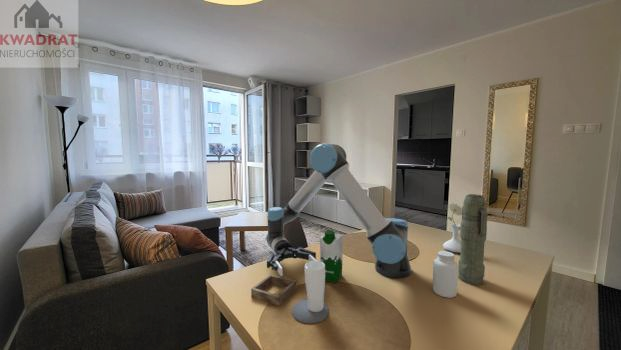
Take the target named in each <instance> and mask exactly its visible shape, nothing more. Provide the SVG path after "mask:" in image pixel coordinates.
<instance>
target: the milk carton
mask: <svg viewBox="0 0 621 350" xmlns="http://www.w3.org/2000/svg"><path fill="white" fill-rule="evenodd" d="M343 239H344V234H341V233H335V231H334V230H333V231H332V230H326V231H325V232H324V233H323V234H322V235H321V236H319V250H320V251H319V259H320V260H319V261H321V262H323V263H324V264H325V282H331V283H333V284H334V283H335V284H337V283H338V281H339V280H340V279H341V277H342V276H343V245H344V244H343Z"/></svg>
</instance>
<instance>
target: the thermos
mask: <svg viewBox="0 0 621 350" xmlns="http://www.w3.org/2000/svg"><path fill="white" fill-rule="evenodd" d="M462 203H463V204H462V205H463V206H462V207H461V208H462V215H461V222H460V225H461V227H460V228H459V236H460V240H461V253H460V256H459V257H460V258H459V260H458V263H457V265H458V274H457V279H459V280H460V281H462V282H463V283H465V284H468V285H472V286H482V285H483V284H484V278H485V268H486V267H485V263H484V260H485V259H484V258H485V257H484V255H485V242H486V240H487V235H488V234H487V231H488V227H487V225H488V224H487V223H488V214H489V213H488V211H487V201H486V199H485V196H483V195H481V194H473V193H472V194H471V193H469V194H467V195H466V196H465V198H464V200H463V202H462Z"/></svg>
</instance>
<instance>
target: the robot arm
mask: <svg viewBox="0 0 621 350" xmlns="http://www.w3.org/2000/svg"><path fill="white" fill-rule="evenodd" d="M309 162H310V166H311V167H312V169H313V170H314V171H313V173H312V174H310V176H309V177H308V179H306V181H305V182H304V184H302V186H301V187H300V188H299V190H298V191H296V193H295V194H294V196H293V197H292V198H291V199H290V200H289V201H288V203H287V204H286V205H285V206H284V208H282V207H278V206H274V207H270V208H268V210H267V217H266V219H267V234H266V237H265V240H266V243H267V245H268V246H269V247H270V249H271V250H272V251H269V256H268V258H267V260H266V268H267V269H270V268H271V270H273V271H277V273H278V274H279V277H282V276H283V275H284V273H283V267H282V266H281V264H280V263H281V262H283V261H284V260H287V259H295V260H296V259H301V260H307V261H308V262H309V261H318V260H317V252H316V251H312V250H310V249H306V248H304V247H302V246H298V248H294V247H293V245H292V244H291V243H290V242H289V241H288V240H287V239H286V238H285V225H286V224H288V223H290V222H292V221H295V220H296V219H297V218H298V217H299V216H300V212H301V211H302V210H303V209H304V208H305V207H306V205H307V204H308V203H309V202H310V201H311V200H312V199H313V198H314V196H315V195H316V194H317V193H318V192H319V191H320V189H321V188H322V187H323V186H324V185H325V183H326V182H331V183H332V184H333V186H334V187H335V189H336V190H337V191H338V193H339V194H340V196H341V197H342V198H343V200H344V201H345V202H346V204H347V205H348V207H349V208H350V210H351V211H352V212H353V214H354V215H355V217H356V218H357V220H358V221H359V222H360V223H361V225H362V227H363V228H364V230H366V231H365V232H366V235H365V238H367V240H368V242H369V243H370V245H371V249H372V253H373V255H374V256H375V258H376V260H375V262H374V268H375V270H376V272H377V273H379V274H380V275H382V276H384V277H388V278H392V279H393V278H394V279H401V278H402V279H403V278H408V277H409V276H410V275H411V273H412V267H411V263H410V261H409V255H408V237H409V236H408V232H409V231H408V230H409V222H408V221H407V220H405V219H401V218H394V217H384V216H383V214H382V213H381V211H380V210H379V209H378V208H377V206H376V205H375V204H374V202H373V200H371V198H370V197H369V195H368V194H367V192H365V190H364V188H363V187H362V185H361V184H360V183H359V182H358V180H357V179H356V177H355V176H354V175H353V174H352V172H351V171H350V170H349V169H350V168H349V167H350V162H348V161H347V153H346V151H345V149H344V148H343V147H342V146H340V144H339V145H338V144H334V143H333V144H332V143H327V142H324V143H320V144H318V145H316V146H315V147H314V148H312V151H311V153H310V156H309Z"/></svg>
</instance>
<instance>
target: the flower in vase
mask: <svg viewBox="0 0 621 350" xmlns="http://www.w3.org/2000/svg"><path fill="white" fill-rule="evenodd" d="M448 208H449V210H450V212H451V213H452V215H451V216H447V218H446V219H447V220H449V221H451V222H453V223H450V226H451V227H452V237H451V239H449V240H446V241H445V242H444V243H443V244H442V247H443V249H444V250H447V251H448V252H451V253H458V254H459V253H460V254H461V241H460V239H459V232H460V227H461V224H459V223H458V222H460V220H461V219H458V220H456V221H454V215H456V216H462V207H461V206H460V205H458V203H455V202H451V203H449V204H448Z"/></svg>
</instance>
